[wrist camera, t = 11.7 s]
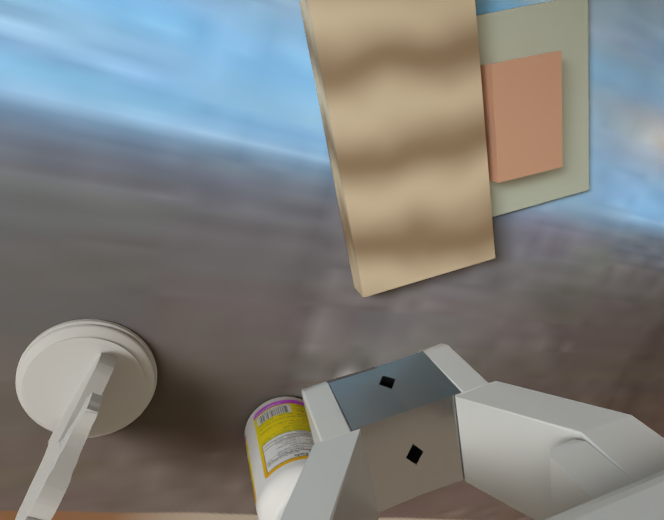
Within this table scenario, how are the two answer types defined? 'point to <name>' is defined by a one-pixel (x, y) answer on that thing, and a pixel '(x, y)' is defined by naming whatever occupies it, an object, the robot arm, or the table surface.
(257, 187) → the table surface
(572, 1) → the mat
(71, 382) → the chess piece
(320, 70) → the beige flat block
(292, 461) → the supplement bottle
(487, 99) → the tile
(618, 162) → the table surface
